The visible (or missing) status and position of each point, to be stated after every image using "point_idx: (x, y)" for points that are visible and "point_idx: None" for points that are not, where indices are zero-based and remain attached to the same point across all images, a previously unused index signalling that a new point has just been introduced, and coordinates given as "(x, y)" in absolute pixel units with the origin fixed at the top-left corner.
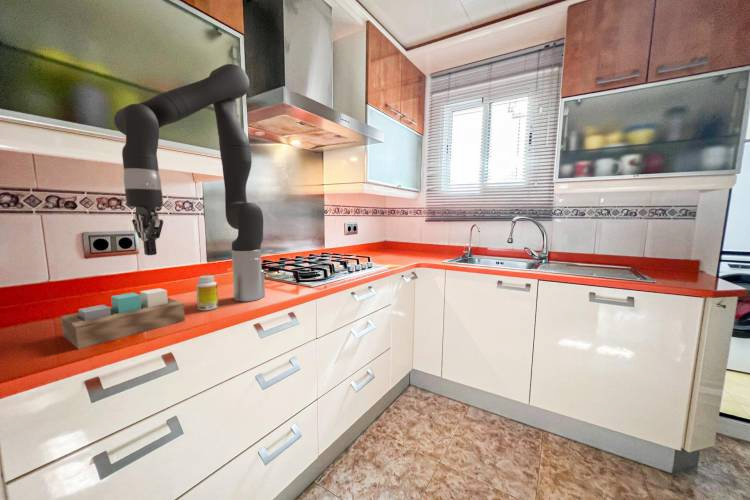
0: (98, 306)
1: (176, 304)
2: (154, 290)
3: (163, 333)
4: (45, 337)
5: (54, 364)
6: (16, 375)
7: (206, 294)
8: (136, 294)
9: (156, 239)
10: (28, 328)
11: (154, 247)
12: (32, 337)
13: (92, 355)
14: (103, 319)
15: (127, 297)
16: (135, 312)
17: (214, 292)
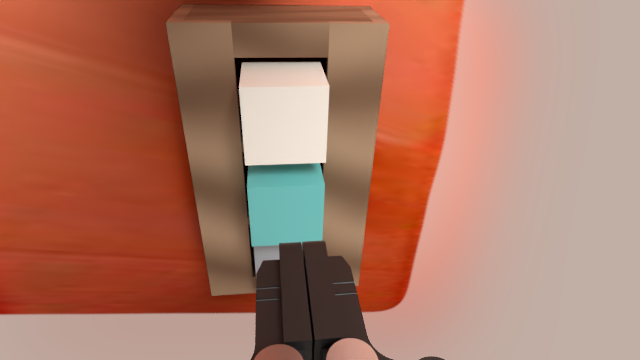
0: (270, 257)
1: (381, 53)
2: (282, 123)
3: (424, 105)
4: (188, 272)
5: (393, 274)
6: (388, 305)
7: None
8: (301, 190)
9: (370, 347)
10: (59, 289)
11: (357, 296)
12: (164, 287)
13: (411, 235)
14: (350, 244)
15: (322, 219)
16: (356, 180)
17: None
